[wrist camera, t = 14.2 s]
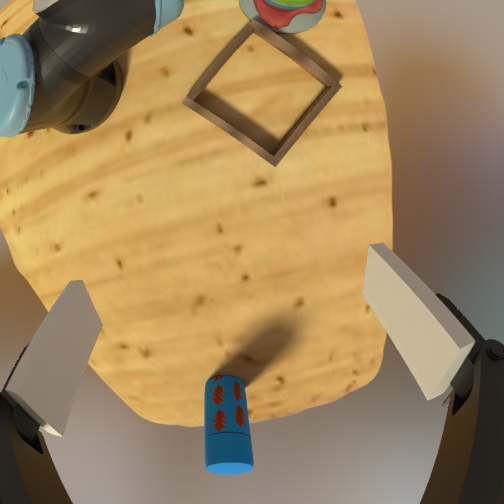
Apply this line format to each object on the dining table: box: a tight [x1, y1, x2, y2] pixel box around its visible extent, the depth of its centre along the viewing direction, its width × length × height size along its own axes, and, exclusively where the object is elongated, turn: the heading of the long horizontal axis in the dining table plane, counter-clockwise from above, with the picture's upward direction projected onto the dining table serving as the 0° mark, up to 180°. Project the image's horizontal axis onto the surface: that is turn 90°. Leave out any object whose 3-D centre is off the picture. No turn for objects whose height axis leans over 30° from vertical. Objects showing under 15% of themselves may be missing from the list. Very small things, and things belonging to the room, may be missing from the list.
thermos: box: [205, 375, 253, 474], centre depth 57 cm, size 11×11×25 cm
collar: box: [182, 19, 342, 167], centre depth 36 cm, size 17×17×2 cm
